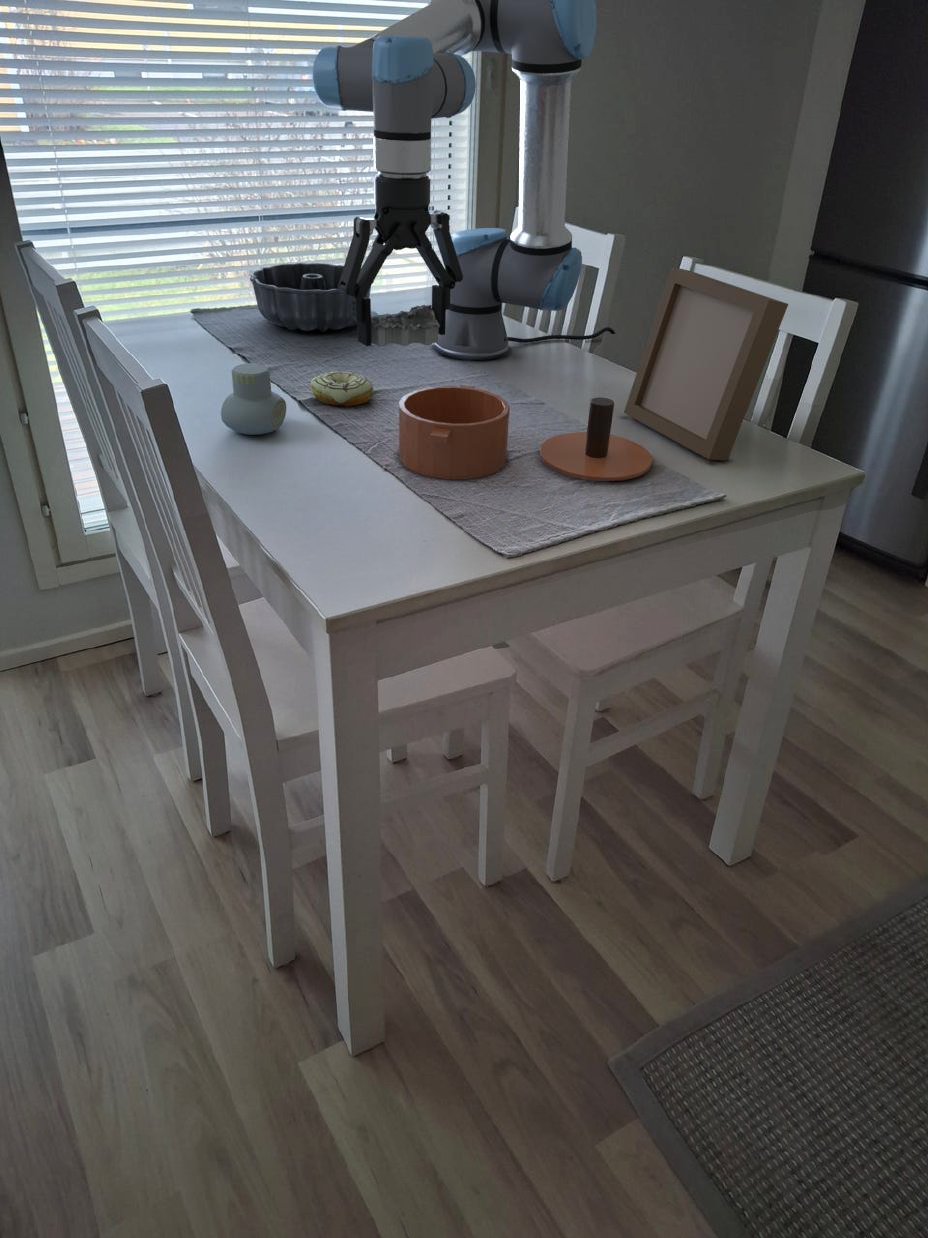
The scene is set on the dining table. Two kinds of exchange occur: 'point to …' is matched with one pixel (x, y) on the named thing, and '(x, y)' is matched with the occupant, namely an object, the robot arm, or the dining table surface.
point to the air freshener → (253, 402)
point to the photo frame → (703, 361)
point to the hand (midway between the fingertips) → (402, 337)
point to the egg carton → (405, 327)
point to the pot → (453, 432)
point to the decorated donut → (341, 388)
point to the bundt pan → (303, 296)
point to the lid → (596, 449)
